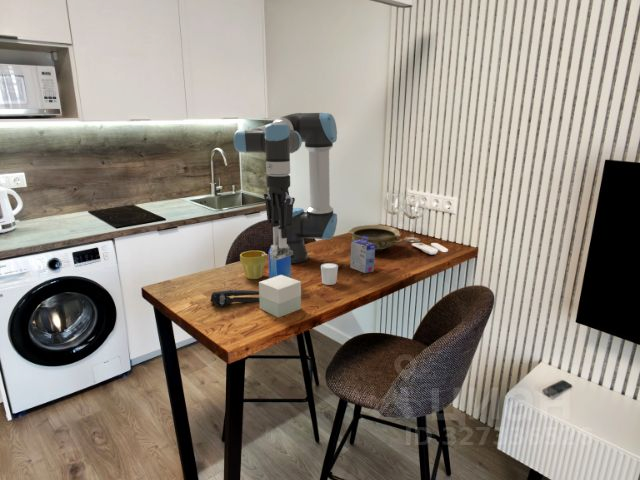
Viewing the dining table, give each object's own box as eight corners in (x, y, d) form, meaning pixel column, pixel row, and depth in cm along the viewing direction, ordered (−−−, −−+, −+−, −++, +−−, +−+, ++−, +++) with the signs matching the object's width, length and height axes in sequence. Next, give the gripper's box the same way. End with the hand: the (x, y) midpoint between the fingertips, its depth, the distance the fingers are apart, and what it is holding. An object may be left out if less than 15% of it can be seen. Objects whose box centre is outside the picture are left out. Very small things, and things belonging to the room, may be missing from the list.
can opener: (211, 310, 146) (209, 295, 145) (210, 302, 153) (209, 287, 151) (263, 304, 150) (262, 289, 149) (260, 297, 157) (260, 282, 155)
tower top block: (259, 295, 146) (258, 282, 144) (281, 287, 153) (281, 274, 151) (279, 304, 139) (278, 289, 138) (301, 295, 146) (300, 281, 145)
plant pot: (239, 273, 180) (238, 251, 177) (263, 271, 183) (262, 249, 181) (243, 282, 171) (242, 258, 168) (269, 279, 174) (268, 256, 171)
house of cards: (279, 249, 151) (278, 227, 149) (297, 253, 145) (296, 231, 143) (260, 255, 145) (258, 233, 143) (277, 260, 139) (276, 237, 137)
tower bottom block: (259, 309, 147) (259, 295, 146) (282, 301, 154) (282, 287, 153) (278, 318, 140) (277, 304, 139) (301, 309, 147) (300, 295, 146)
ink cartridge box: (375, 271, 183) (376, 238, 179) (365, 274, 180) (366, 240, 176) (359, 265, 191) (359, 233, 187) (349, 267, 188) (350, 235, 184)
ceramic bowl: (335, 250, 213) (335, 230, 210) (361, 240, 231) (362, 221, 229) (388, 262, 195) (389, 241, 192) (412, 250, 213) (413, 230, 211)
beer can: (282, 290, 162) (281, 250, 158) (265, 286, 167) (263, 246, 162) (295, 283, 169) (294, 244, 165) (278, 279, 173) (277, 241, 169)
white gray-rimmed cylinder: (325, 286, 166) (325, 269, 164) (317, 280, 172) (317, 264, 170) (341, 283, 169) (341, 266, 168) (332, 278, 175) (332, 261, 173)
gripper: (254, 173, 138) (257, 244, 144) (284, 178, 127) (285, 253, 134) (273, 171, 143) (274, 239, 149) (303, 175, 132) (303, 249, 139)
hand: (280, 246), depth 141 cm, fingers closed on house of cards, 2 cm apart
